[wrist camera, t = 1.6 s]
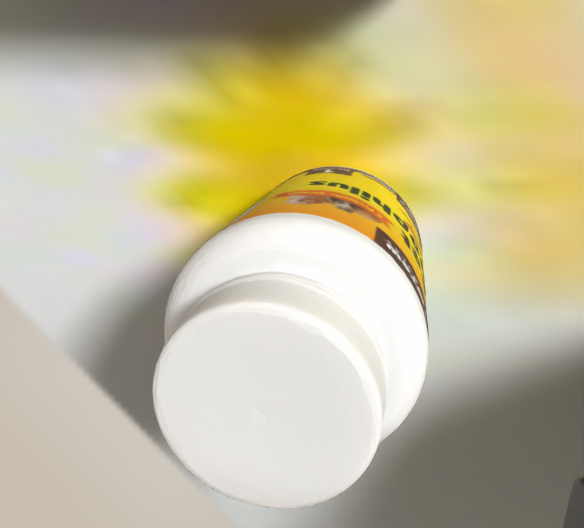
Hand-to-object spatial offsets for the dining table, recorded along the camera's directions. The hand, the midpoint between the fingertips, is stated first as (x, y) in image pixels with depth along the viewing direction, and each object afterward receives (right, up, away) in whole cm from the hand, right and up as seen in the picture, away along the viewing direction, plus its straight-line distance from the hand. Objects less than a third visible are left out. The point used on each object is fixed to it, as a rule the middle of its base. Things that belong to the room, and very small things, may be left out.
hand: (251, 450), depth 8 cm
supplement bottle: (+2, +3, +11) cm, 11 cm away
